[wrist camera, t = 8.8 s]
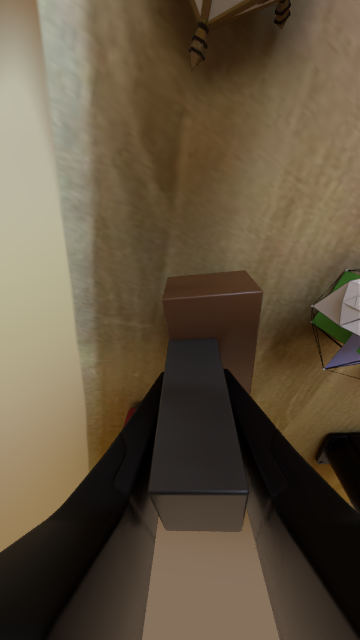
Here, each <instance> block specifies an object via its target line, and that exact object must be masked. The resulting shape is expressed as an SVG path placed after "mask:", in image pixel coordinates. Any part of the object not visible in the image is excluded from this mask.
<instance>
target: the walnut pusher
mask: <svg viewBox="0 0 360 640" xmlns="http://www.w3.org/2000/svg"><path fill="white" fill-rule="evenodd" d="M262 296H263V291H262V289H261V288H260V287H259V286H258V285H257V284H256V282H255V281H254V280H253V279H252V278H251V276H250V275H249V274H248V273H247V272H246V271H245V270H244V271H233V272H222V273H211V274H200V275H189V276H178V277H169V278H168V279H167V283H166V287H165V291H164V294H163V298H162V303H163V309H164V315H165V321H166V327H167V333H168V339H169V342H168V348H167V356H166V363H165V370H164V377H163V385H162V392H161V399H160V406H159V413H158V421H157V428H156V435H155V442H154V449H153V457H152V464H151V471H150V478H149V485H148V494H149V496H150V499H151V501H152V503H153V505H154V507H155V509H156V511H157V513H158V515H159V517H160V519H161V521H162V523H163V526H164V528H165V529H166V530H169V531H224V532H240V531H242V526H243V521H244V516H245V511H246V506H247V501H248V496H249V487H248V483H247V478H246V473H245V468H244V464H243V459H242V454H241V450H240V445H239V440H238V436H237V431H236V426H235V422H234V417H233V412H232V408H231V403H230V398H229V394H228V389H227V384H226V380H225V375H224V370H223V369H228V370H229V371H230V372H231V373H232V374H233V376H234V377H235V378H236V379H237V381H238V382H239V383H240V384H241V385H242V387H243V388H244V389H245V390H246V391H247V393H248V394H249V395H250V392H251V384H252V376H253V368H254V360H255V352H256V344H257V336H258V328H259V320H260V312H261V304H262Z"/></svg>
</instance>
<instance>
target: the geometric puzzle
mask: <svg viewBox="0 0 360 640" xmlns="http://www.w3.org/2000/svg"><path fill="white" fill-rule="evenodd" d="M356 270H360V269H356ZM349 271H355V270H347V269H346V270H345V272H344V273H343V274H342V275H341V276H342V277H341V276H340V277H341V278H340V277H339V278H340V280H339V281H338V283H337V284H336V286H335V287H334V289H333V290H332V292H331V293H330V294H329V295H328V296H326V297H325V298H323V299H322V300H320V301H319V302H317V301H318V300H319V299H320V298H321V297H322V296H321V297H320V298H319V299H318V300H317V301H316V302H317V303H316V302H315V303H316V304H315V303H314V304H313V305H311V306H310V307H311V308H312V311H313V308H315V309H316V310H318V313H317V314H316V316H315V317H314V319H313V320H312V317H311V322H310V323H312V327H313V324H314V325H315V327H317V328H318V329H320V328H321V329H320V330H321V331H322V332H323V333H324V334H326V333H325V332H327V333H328V334H330V335H331V336H333V337H335V338H336V339H338V340H339V341H341V342H342V343H344V345H343V346H341V345H340V344H338V343H337V342H336V341H335V340H334V339H332V338H331V337H330V336H329V335H328V334H326V335H327V336H328V337H329V338H330V339H332V340H333V341H334V342H335V343H336V344H338V345H339V346H340V347H341V349H340V350H339V351H338V352H337V354H336V355H335V356H334V357H333V358H332V360H331V361H330V362H329V363H328V364H327V366H326V367H325V368H324V366H323V368H322V369H323V370H326V369H331V368H337V367H343V366H349V365H355V364H360V275H358V274H355V273H352V272H349ZM339 278H338V279H339ZM338 279H337V280H338ZM337 280H336V281H337ZM336 281H335V282H336ZM335 282H334V283H335ZM334 283H333V284H334ZM333 284H332V285H333ZM332 285H331V286H332ZM313 316H314V313H313ZM313 330H314V328H313ZM323 330H324V331H325V332H324V331H323ZM316 332H317V329H316ZM314 334H315V332H314ZM317 337H318V334H317ZM315 338H316V336H315ZM316 342H317V340H316ZM318 343H319V340H318ZM317 346H318V344H317ZM319 348H320V345H319V347H318V350H319ZM320 353H321V350H320V351H319V354H320ZM320 357H321V361H322V356H321V355H320ZM322 365H323V361H322ZM328 371H330V370H328ZM332 372H333V371H332ZM336 373H337V372H336ZM339 374H341V373H339ZM343 375H344V374H343ZM347 376H348V375H347ZM350 377H352V376H350ZM354 378H356V377H354ZM358 379H359V378H358Z"/></svg>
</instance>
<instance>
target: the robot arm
mask: <svg viewBox="0 0 360 640" xmlns="http://www.w3.org/2000/svg"><path fill="white" fill-rule="evenodd" d="M223 370H224V375H225V380H226V384H227V389H228V394H229V398H230V403H231V408H232V412H233V417H234V422H235V426H236V431H237V436H238V440H239V445H240V450H241V454H242V459H243V464H244V468H245V473H246V478H247V483H248V487H249V496H248V501H247V506H246V508H247V512H248V516H249V520H250V523H251V527H252V531H253V535H254V539H255V541H256V547H257V551H258V555H259V559H260V563H261V567H262V571H263V575H264V579H265V583H266V587H267V591H268V594H269V599H270V603H271V606H272V611H273V615H274V618H275V622H276V626H277V630H278V634H279V638H280V640H360V433H340V434H329V435H328V436H327V438H326V439H325V441H324V443H323V445H322V447H321V449H320V451H319V453H318V454H317V456H316V458H315V460H316V462H317V463H318V464H330V465H331V467H332V469H333V470H334V472H335V474H336V476H337V478H338V480H339V481H340V483H341V485H342V487H343V489H344V491H345V492H346V494H347V496H348V498H349V500H350V501H351V503H352V505H353V507H354V509H355V510H354V509H353V508H352V507H351V506H350V505H349V504H348V503H347V502H346V501H345V500H344V499H343V498H342V497H341V496H340V495H339V494H338V493H337V492H336V491H335V490H334V489H333V488H332V487H331V486H330V485H329V484H328V483H327V482H326V481H325V480H324V479H323V478H322V477H321V476H320V475H319V474H318V473H317V472H316V471H315V470H314V469H313V468H312V467H311V466H310V465H309V464H308V463H307V462H306V460H305V459H304V458H303V457H302V456H301V455H300V454H299V453H298V452H297V451H296V450H295V449H294V448H293V447H292V445H291V444H290V443H289V442H288V441H287V440H286V438H285V437H284V436H283V435H282V434H281V432H280V431H279V430H278V429H276V427H275V425H274V424H273V423H272V422H271V420H270V419H269V418H268V417H267V416H266V414H265V413H264V412H263V411H262V410H261V408H260V407H259V406H258V405H257V404H256V402H255V401H254V400H253V399H252V397H251V396H250V395H249V394H248V393H247V391H246V390H245V389H244V388H243V387H242V385H241V384H240V383H239V382H238V381H237V379H236V378H235V377H234V376H233V374H232V373H231V372H230V371H229V370H228V369H223ZM163 377H164V372H162V373H161V374H160V375H159V377H158V378H157V380H156V381H155V383H154V384H153V385H152V387H151V388H150V390H149V391H148V393H147V394H146V396H145V397H144V399H143V400H142V401H141V403H140V404H139V406H138V407H137V409H136V410H135V412H134V413H133V414H132V416H131V417H130V419H129V420H128V422H127V423H126V425H125V426H124V427H123V429H122V430H121V432H122V433H121V432H120V433H119V435H118V436H117V438H116V439H115V440H114V442H113V443H112V445H111V446H110V447H109V449H108V450H107V451H106V453H105V454H104V455H103V457H102V458H101V459H100V460H99V462H98V463H97V464H96V465H95V466H94V468H93V469H92V470H91V471H90V473H89V474H88V475H87V476H86V477H85V479H84V480H83V481H82V482H81V483H80V485H79V486H78V487H77V488H76V489H75V491H74V492H73V493H72V494H71V495H70V497H69V498H68V499H67V500H66V501H65V502H64V504H63V505H62V506H61V507H60V508H59V509H58V510H57V511H56V512H55V513H53V514H52V515H51V516H50V517H49V518H48V519H46V520H45V521H44V522H42V523H41V524H40V525H38V526H37V527H35V528H34V529H32V530H31V531H30V532H28V533H27V534H25V535H24V536H23V537H22V538H20V539H18V540H17V541H16V542H14V543H13V544H11V545H10V546H9V547H7V548H6V549H4V550H3V551H2V552H0V640H142V633H143V626H144V620H145V612H146V604H147V598H148V590H149V583H150V576H151V568H152V561H153V554H154V546H155V538H156V531H157V524H158V516H159V515H158V513H157V511H156V509H155V507H154V505H153V503H152V501H151V499H150V496H149V494H148V485H149V478H150V471H151V464H152V457H153V449H154V442H155V435H156V428H157V421H158V413H159V406H160V399H161V392H162V385H163Z"/></svg>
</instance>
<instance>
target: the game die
mask: <svg viewBox="0 0 360 640" xmlns="http://www.w3.org/2000/svg"><path fill="white" fill-rule="evenodd" d="M189 1H190V4H191V7H192V10H193V12H194V15H195V18H196V20H197V23H198V28H197V31H196V33H195V35H194V36H193V37H192V39H191V40H192V45H191V47H190V48H189V50H188V51H189V52H190V60H191V70H192V72H193V70H194V69H195V68H196V67H197V66H198V64H199V63H200V62H201V61H202V60H204V59H205V57H204V52H205V49H207V44H206V41H207V34H208V32H209V30H212V29H214V28H216V27H219V26H221V25H224V24H226V23H229V22H231V21H234V20H236V19H239V18H241V17H244V16H246V15H248V14H251V13H253V12H256V11H258V10H261V9H263V8H266V7H268V6H271V5H273V4H276V3H278V4H277V7H276V10H275V15H276V17H275V20H274V23H275V24H277V25H278V26H279V27H280V29H281V30H282V28H283V26H284V24H285V22H286V20H287V18H288V17H289V16H290V10H289V8H290V6H291V3H290V0H189Z"/></svg>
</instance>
